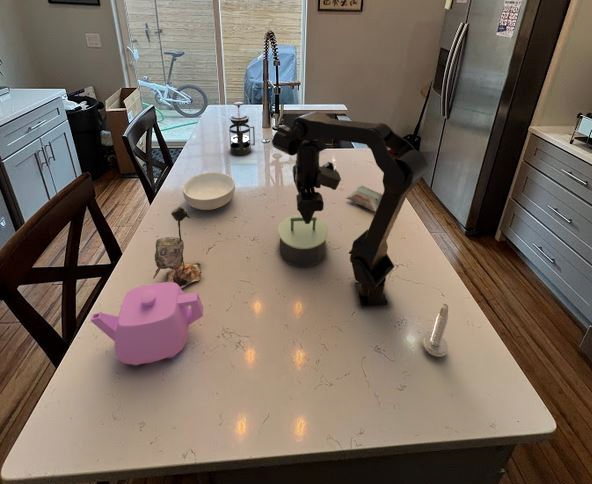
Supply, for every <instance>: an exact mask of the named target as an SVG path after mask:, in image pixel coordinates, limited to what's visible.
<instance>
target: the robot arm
mask: <svg viewBox="0 0 592 484" xmlns="http://www.w3.org/2000/svg"><path fill="white" fill-rule="evenodd" d="M322 139H329V140H335V141H342V142H348V143H354V144H360V145H366V146H367V147H368V149H370V150H371V152H372V156H373V158H374V161H375V164H376V166H377V168H378V169H379V170H380V171H381V172H382V173H383V175H382V185H383V192H382V198H381V200H380V202H379V205H378V207H377V209H376V211H374V212H375V213H374V215H373V217H372V220H371V222H370V225H369V228H368V229H366V230H365V231H364V232H362V234H360V235H359V236H358V237H357V238H356V239H354V240H353V242H352V246H351V250H349V252H348V254H349V255H350V257H349V261H350V263H351V266H352V271H353V275H354V280H355V281H356V282H354V288H355V291H356V295H357V298H358V301H359V304H360V306H361V307H362V308H363V307H379V306H380V307H381V306H388V304H389V302H388V299H387V297H386V294H385V286H386V280H387V276H388V275H389V274H390V273H391V271H393V269H394V268H395V265H394V263H393V261H392V260H391V258H390V256H389V254H388V249H389V245H388V242H387V241H388V238H389V235H390V234H391V231H392V229H393V227H394V225H395V223H396V220H397V218H398V215H399V213H400V211H401V209H402V207H403V205H404V202H405V200H406V198H407V196H408V194H409V193H410V192H411V191H412V190H413V189H414V188H415V186H416V185H417V184H418V183H419V182H420V181H421V179H422V178H423V177H424V176H425V174H426V172H427V171H428V169H429V163H428V161H427V158H426V157H425V156H424V155H423V153H421V152H420V151H418V150H417V149H416V148H415V147H414V146H413V144H411V142H410V141H408V140H407V139H405V138H404V137H402V136H400V134H399V135H398V134H397V133H395V132H394V131H393V129H392V128H391V127H390V126H389V125H388V124H386V123H383V122H379V123H375V122H374V123H373V122H364V121H356V120H355V121H354V120H345V119H337V118H332V117H330V116H329V115H328V114H326V113H323V112H320V111H311V112H307V113H306V114H302V115H300V116H298V117H295V118H294V120H293V124H292V126H291V127H289V126H287V125H285V124H282V125H278V127H277V131H276V132H275V133H274V135H273V138H272V139H271V145H272V147H273V148H274V149H276V150H278V151H280V152H281V153H284V154H286V155H289V156H292V157H293V156H296V158H295V159H296V160H295V164H294V165H293V166H292V179H293V183H294V185H295V188H296V190H297V193H298V194H296V200H295V201H296V207H297V208H296V209H297V211H298V212H299V215H300V214H301V216H302V218H303V220H304V222H305V224H310V222H311V219H312V217H313V216H314V214H315V212H322V211H324V205H325V202H324V197H323V195H322V194H321V193H320V192H319V191H316V189H321V187H326V188H329V189H331V190H332V191H333V190H334V191H336V190H337V188H338V187H339V184H340V183H341V181H342V178H341V175H340V173H339V171H338V170H337V169H336V168H335V167H334V164H333V162H330V161H327V162H326V163H324V164H323V165H322V166H321V165H320V154H321V152H323V151H325V150H327V149H328V145H327V143H325V142H324V141H323V140H322ZM389 149H390V150H392V151H394V152H395V153H396V154H397V156H395V157H394V158H393V156H392V155H391V154H390V152H389Z"/></svg>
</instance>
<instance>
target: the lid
mask: <svg viewBox="0 0 592 484" xmlns="http://www.w3.org/2000/svg"><path fill="white" fill-rule="evenodd" d="M277 232H278V237H279V240H280V239H281V240H282V241H283V242H284V243H285V244H287V245H289V246H291V247H293V248H297V249H311V248H315V247H317V246H319V245H321V244H322V243H323V242H324V241H325V240H326V241H327V239H328V236H329V235H328V233H329V229H328V227H327V225H326V224H325V222H323V221H322V219H320V218H318V217H316V216H314V215H313V217H312V219H311V222H310V224H305V222H304V220H303V218H302V216H301V214H300V213H299V214H294V215H290V216H288V217H286V218H284V219H283V220H281V222H280V223H279V225H278V229H277Z"/></svg>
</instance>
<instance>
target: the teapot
mask: <svg viewBox="0 0 592 484" xmlns="http://www.w3.org/2000/svg"><path fill="white" fill-rule="evenodd" d="M189 306H190V308H189ZM203 316H204V305H203V303H202V300H201V298H200V295H199V292H198V291H195V292H190V293H185V292H184V291H183V288H180V287H179V286H178V284H177V283H173V282H166V281H164V282H155V283H149V284H145V285H140V286H137V287H134V288H132V289H130V290H128V291H127V292H126V293H125V295H124V297H123V300H122V304H121V306H120V310H119V314H118V316H117V315H113V314H109V313H105V312H102V311H100V312H95V313H92V315H91V317H90V322H91V323H92V324H94V325H95V326H96V327H97V328H98V329H99V330H100V331H101V332H103V334H105V335H107V336H108V338H110V339H111V340H112V341H113V342H114V351H115V352H114V353H115V357H116V358H117V360H118V361H119V362H121V363H122V364H127V365H132V366H139V365H141V364H142V365H143V364H149V363H155V362H158V361H161V360H164V359H166V358H167V359H172V358H175V356H177V354H178V353H180V352H181V351H182V350H183V349H184V348H185V346H186V345H185V344H186V343H187V339H188V333H189V327H190V325H191V324H193V323H195V322H197V321H198V320H199V319H201V318H203Z"/></svg>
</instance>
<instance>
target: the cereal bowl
mask: <svg viewBox="0 0 592 484" xmlns="http://www.w3.org/2000/svg"><path fill="white" fill-rule="evenodd" d="M235 190H236V182H235V180H234V178H233V177H232V176H230V175H229V174H227V173H223V172H218V171H210V172H209V171H208V172H203V173H198V174H196V175H193V176H191V177H190V178H189V179H187V180H186V181H185V182H184V184H183V186H182V194H183V198H184V200H185V202H186V203H187V204H188V205H189V206H191V207H192V208H194V209H197V210H201V211H209V210H210V211H211V210H215V209H219V208H221V207H224V206H225V205H226V204H228V203H229V202H230V201H231V200H232V199H233V196H234V194H235Z"/></svg>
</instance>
